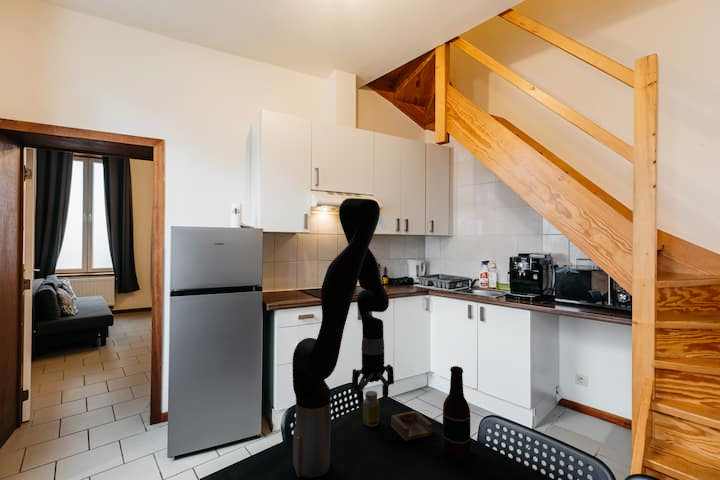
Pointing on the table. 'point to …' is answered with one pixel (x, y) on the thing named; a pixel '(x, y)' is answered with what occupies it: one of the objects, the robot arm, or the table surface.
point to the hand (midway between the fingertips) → (373, 399)
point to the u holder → (411, 425)
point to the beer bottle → (456, 418)
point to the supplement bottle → (371, 409)
